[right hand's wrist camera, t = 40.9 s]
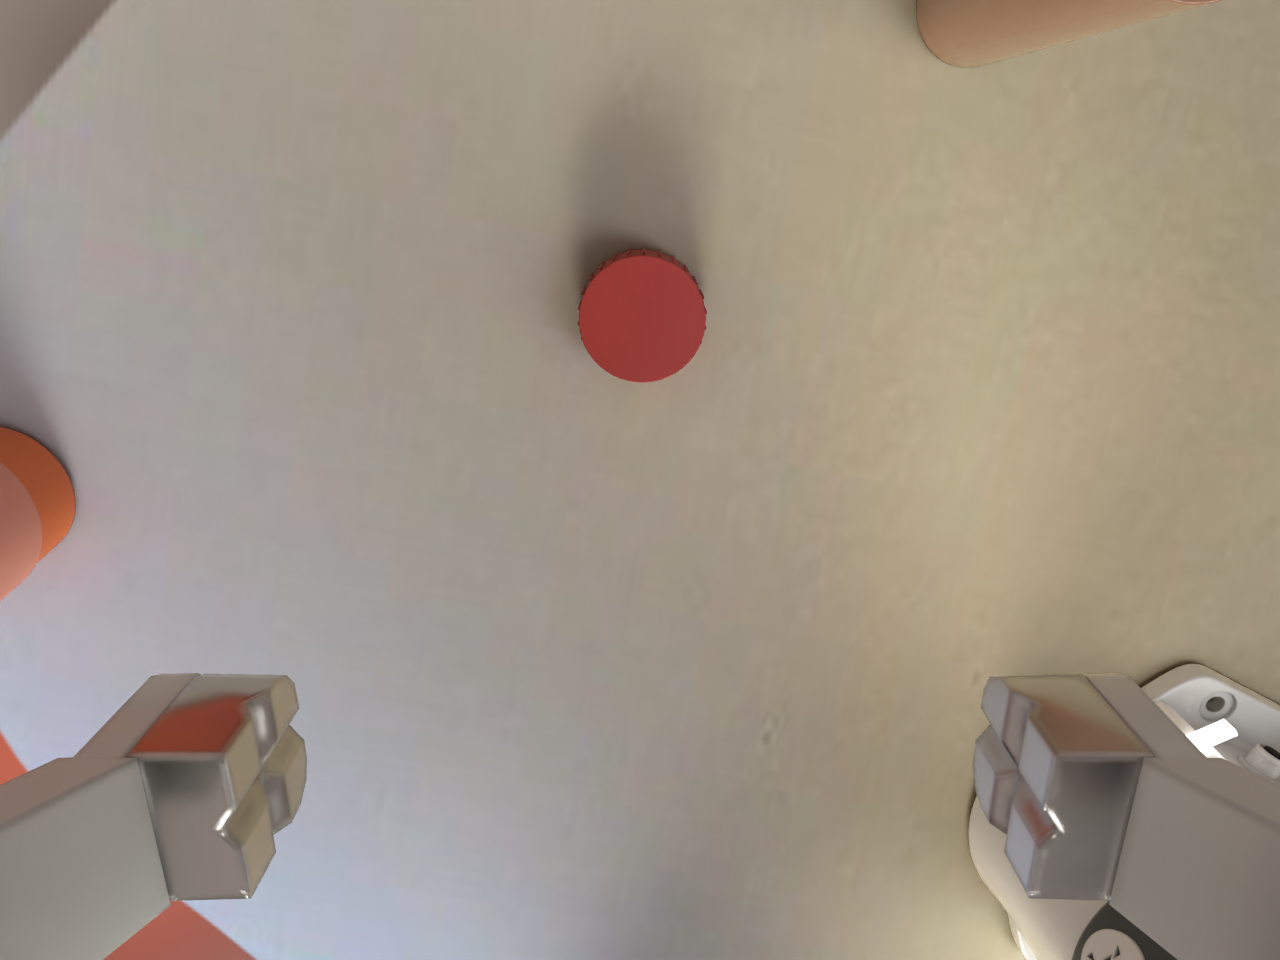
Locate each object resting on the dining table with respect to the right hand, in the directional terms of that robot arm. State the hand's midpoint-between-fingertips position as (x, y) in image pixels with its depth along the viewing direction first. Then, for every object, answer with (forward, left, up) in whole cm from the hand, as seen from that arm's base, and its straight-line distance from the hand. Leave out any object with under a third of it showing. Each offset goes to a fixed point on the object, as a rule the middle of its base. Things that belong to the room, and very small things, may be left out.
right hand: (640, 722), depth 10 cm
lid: (0, 0, -26) cm, 26 cm away
